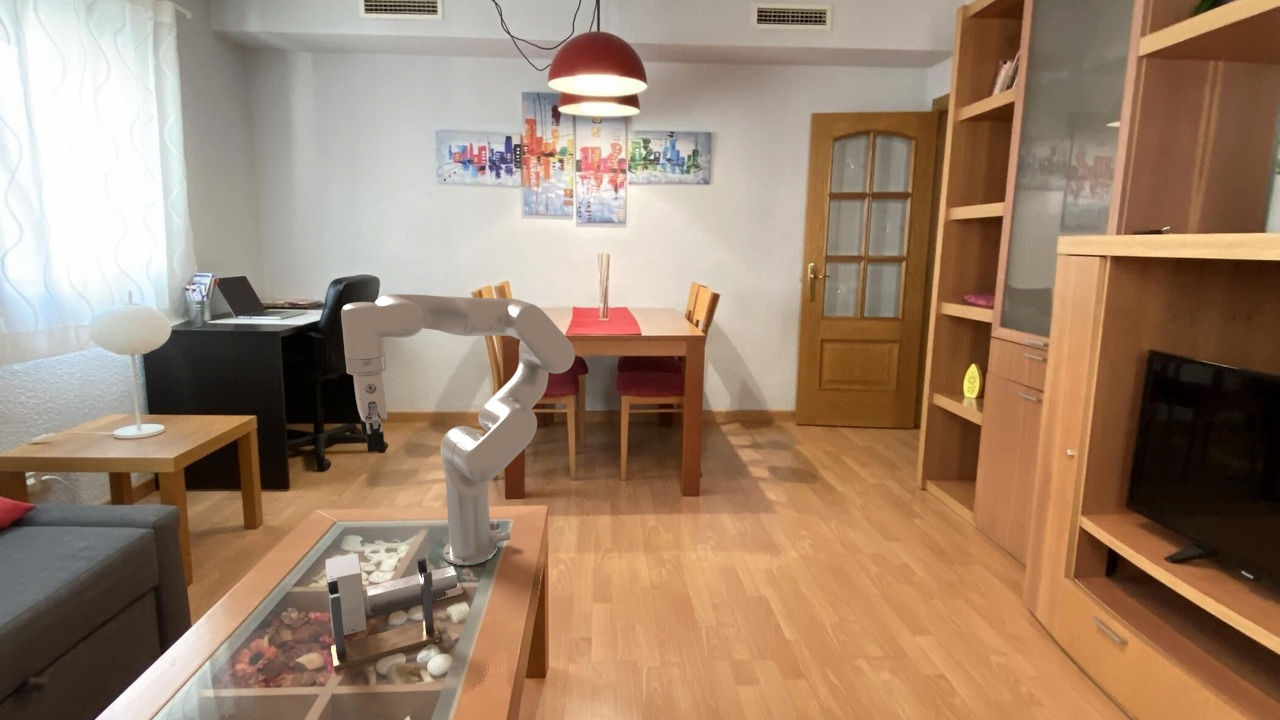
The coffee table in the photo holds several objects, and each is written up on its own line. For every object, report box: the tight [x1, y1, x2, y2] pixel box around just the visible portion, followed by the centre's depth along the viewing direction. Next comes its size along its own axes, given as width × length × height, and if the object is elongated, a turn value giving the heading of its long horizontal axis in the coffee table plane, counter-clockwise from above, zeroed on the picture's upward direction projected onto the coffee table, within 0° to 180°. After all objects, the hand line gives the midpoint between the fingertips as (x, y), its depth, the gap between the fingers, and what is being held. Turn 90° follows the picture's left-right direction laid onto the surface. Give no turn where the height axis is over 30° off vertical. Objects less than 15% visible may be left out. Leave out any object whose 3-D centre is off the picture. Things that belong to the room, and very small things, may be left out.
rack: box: [327, 557, 441, 672], centre depth 131 cm, size 19×6×15 cm, turn 118°
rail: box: [365, 565, 458, 611], centre depth 147 cm, size 18×4×4 cm, turn 118°
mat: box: [364, 591, 448, 620], centre depth 148 cm, size 20×7×1 cm, turn 118°
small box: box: [325, 553, 367, 639], centre depth 138 cm, size 8×6×13 cm
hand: (373, 442), depth 144 cm, fingers open, 9 cm apart
